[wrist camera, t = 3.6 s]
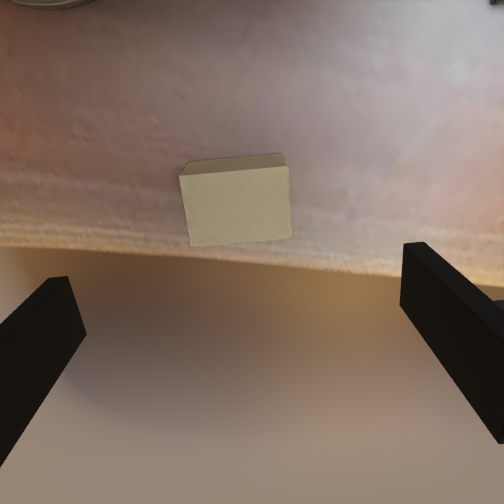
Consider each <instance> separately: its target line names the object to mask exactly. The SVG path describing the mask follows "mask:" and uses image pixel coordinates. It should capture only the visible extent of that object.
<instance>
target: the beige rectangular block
mask: <svg viewBox="0 0 504 504" xmlns="http://www.w3.org/2000/svg"><path fill="white" fill-rule="evenodd" d="M179 181H180V187H181V193H182V199H183V204H184V210H185V216H186V222H187V228H188V234H189V240H190V246H191V248H193V247H204V246H215V245H227V244H238V243H249V242H260V241H272V240H283V239H292V226H291V207H290V187H289V167H288V164H287V163H286V161H285V159H284V157H283V155H282V153H275V154H265V155H254V156H244V157H233V158H222V159H212V160H201V161H191V162H189V163H188V164H187V166H186V167H185V168H184V170H183V171H182V173H181V174H180V175H179Z"/></svg>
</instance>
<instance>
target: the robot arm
mask: <svg viewBox="0 0 504 504" xmlns="http://www.w3.org/2000/svg"><path fill="white" fill-rule="evenodd" d="M8 1H11V2H14V3H17V4H20V5H24V6H27V7H32V8H38V9H49V10H55V9H67V8H73V7H77V6H81V5H84V4H87V3H89V2H91V1H94V0H8ZM400 293H401V294H400V306H401V308H402V309H403V310H404V312H405V313H406V315H407V316H408V318H409V319H410V320H411V322H412V323H413V325H414V326H415V327H416V329H417V330H418V332H419V333H420V334H421V336H422V337H423V338H424V340H425V341H426V343H427V344H428V346H429V347H430V348H431V350H432V351H433V353H434V354H435V356H436V357H437V358H438V360H439V361H440V362H441V364H442V365H443V367H444V368H445V369H446V371H447V372H448V374H449V375H450V377H451V378H452V379H453V381H454V382H455V384H456V385H457V386H458V388H459V389H460V391H461V392H462V393H463V395H464V396H465V398H466V399H467V400H468V402H469V403H470V404H471V406H472V407H473V409H474V410H475V412H476V413H477V414H478V416H479V417H480V419H481V420H482V422H483V423H484V424H485V426H486V427H487V429H488V430H489V431H490V433H491V434H492V436H493V437H494V438H495V440H496V441H497V442H498V444H504V300H496V301H492V300H491V299H490V298H489V297H488V296H487V295H485V294H484V293H483V292H482V291H481V290H480V289H478V288H477V287H476V286H475V285H474V284H473V283H471V282H470V281H469V280H468V279H467V278H466V277H464V276H463V275H462V274H461V273H460V272H459V271H457V270H456V269H455V268H454V267H453V266H452V265H450V264H449V263H448V262H447V261H446V260H445V259H443V258H442V257H441V256H440V255H439V254H438V253H436V252H435V251H434V250H433V249H432V248H431V247H429V246H428V245H427V244H426V243H425V242H415V243H405V244H404V246H403V262H402V277H401V292H400ZM86 335H87V334H86V330H85V328H84V324H83V321H82V318H81V315H80V312H79V309H78V306H77V303H76V300H75V297H74V294H73V291H72V288H71V285H70V282H69V279H68V276H63V277H53V278H48V279H47V280H46V281H45V282H44V283H43V284H42V285H41V286H40V287H39V288H37V289H36V290H35V292H33V293H32V294H31V295H30V296H29V297H28V298H27V299H26V300H25V301H24V302H23V303H22V304H21V305H20V306H19V307H18V308H17V309H16V310H15V311H13V312H12V314H10V315H9V316H8V317H7V318H6V319H5V320H4V321H3V322H2V323H1V324H0V467H1V465H2V464H3V463H4V461H5V459H6V458H7V456H8V455H9V453H10V452H11V450H12V448H13V447H14V446H15V444H16V442H17V441H18V439H19V438H20V436H21V435H22V433H23V432H24V430H25V429H26V427H27V426H28V424H29V422H30V421H31V419H32V418H33V416H34V415H35V413H36V412H37V410H38V408H39V407H40V405H41V404H42V402H43V401H44V399H45V398H46V396H47V395H48V393H49V392H50V390H51V388H52V387H53V385H54V384H55V382H56V381H57V379H58V378H59V376H60V375H61V373H62V372H63V370H64V368H65V367H66V365H67V364H68V362H69V361H70V359H71V358H72V356H73V354H74V353H75V352H76V350H77V348H78V347H79V345H80V344H81V342H82V341H83V339H84V338H85V336H86Z"/></svg>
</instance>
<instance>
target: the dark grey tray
mask: <svg viewBox="0 0 504 504" xmlns="http://www.w3.org/2000/svg"><path fill="white" fill-rule="evenodd" d="M497 4H504V0H491V5H497Z"/></svg>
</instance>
